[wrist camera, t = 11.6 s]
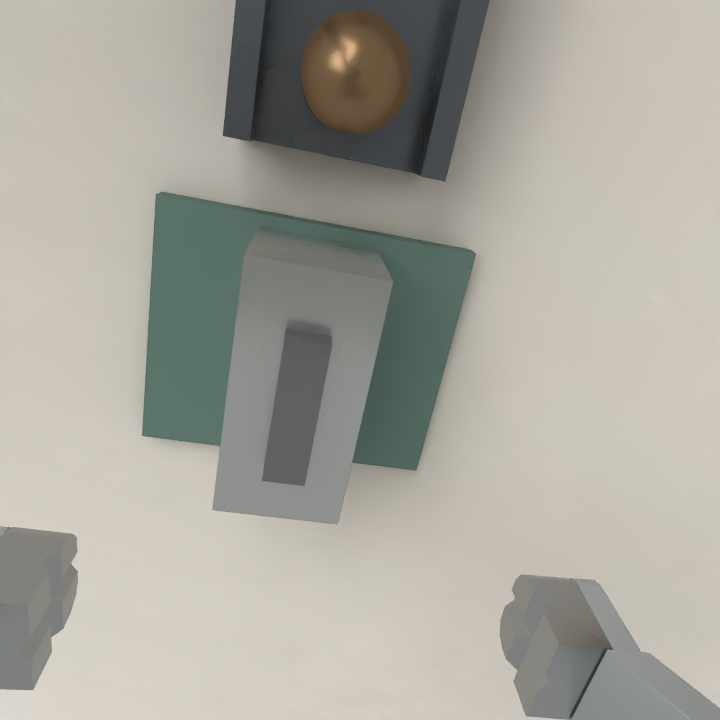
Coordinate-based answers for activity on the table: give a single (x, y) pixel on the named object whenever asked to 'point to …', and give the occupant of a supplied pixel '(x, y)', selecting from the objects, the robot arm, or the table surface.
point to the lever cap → (299, 374)
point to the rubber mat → (219, 310)
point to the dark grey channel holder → (354, 77)
